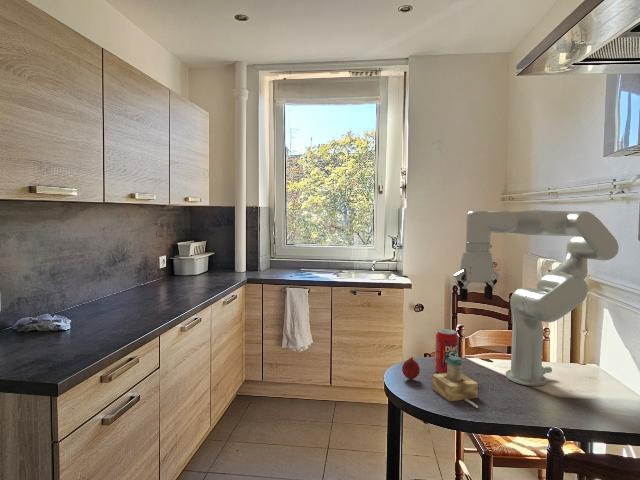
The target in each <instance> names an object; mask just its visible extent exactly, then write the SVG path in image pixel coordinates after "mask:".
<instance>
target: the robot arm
mask: <svg viewBox="0 0 640 480" xmlns="http://www.w3.org/2000/svg"><path fill="white" fill-rule="evenodd" d="M465 227H466V230H465V231H466V232H465V251H463V252H462V256H461V260H460V268H459V271H458V272H456V273H455V274H453V276H452V277H453V279H454V283H455V284H456V285H457V287H458V289H459V300H461V301H463V302H467V301H468V297H469V296H468V293H469V290H468V288H467V287H469V285H470V284H482V283H483V284H484V285H485V286H484V292H483V293H484V294H483V298H484V299H486V300H489V301H491V300H493V291H494V290H493V288H495V286H496V284H497V283H498V279H499V278H500V273H498V272H497V271H495V270H494V268H493V267H494V265H493V257H492V256H493V255H492V252H491V249H493V245H492V244H491V233H492V234H509V233H510V234H520V235H525V236H526V235H527V236H557V237H561V236H564V237H570V239H568V242H567V243H566V253H565V259H564V260H563V262H562V263H561V264H559V265H558V266H556V267H555V268H553V269H552V270H550V271H549V272H547V273H546V274H545V275H543V276H542V277H540V278H539V280H538V282H537V284H536V288H531V287H519V288H518V289H516V290H515V291H513V293H512V295H511V296H510V302H509V303H510V304H509V305H510V311H511V316H512V317H511V318H512V320H511V321H512V329H511V330H512V331H511V333H512V334H511V352H510V353H511V356H510V357H511V358H510V369H508V370H507V371H505V377H506V379H508V380H509V381H511V382H513V383H515V384H520V385H524V386H533V387H538V386H539V387H540V386H544V385H546V384H547V378H546V377H545V376H544V375H545V374H550V373H552V372H553V369H552V367H551V366H545V367H544V366H543V342H544V341H543V340H544V326H543V325H544V324H543V322H544V323H553V322H556V321H558V320H560V319H561V318H563V317H564V316H566V315H567V314H569V313H570V312H571V311H573V310H574V309H575V308H577V307H579V306H580V305H581V304H582V303H583V302H584V301H585V300H586V298H587V296H588V293H589V286H588V283H587V282H586V280H585V279H586V278H587V276H588V260H594V261H595V260H597V261H610V260H612V259H614V258H615V257H616V256H617V255H618V253H619V248H620V247H619V243H618V240H617V239H616V237H615V236H614V235H613V234H612V232H610V230H609V229H608V228H607V227H606V226H605V224H604V223H603V222H602V221H601V220H600V219H599V218H598V217H597V216H596V215H595V214H594V213H593V212H590V211H586V210H583V211H582V210H580V211H579V210H576V211H574V210H573V211H572V210H571V211H570V210H569V211H567V210H541V209H539V210H538V209H534V210H522V211H521V210H520V211H510V210H509V211H508V210H470V211H468V212H467V214H466V225H465Z"/></svg>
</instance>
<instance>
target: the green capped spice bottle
mask: <svg viewBox="0 0 640 480" xmlns="http://www.w3.org/2000/svg"><path fill="white" fill-rule="evenodd" d="M461 374H462V358H460V357H459V356H458V357H456V356H454V357H448V362H447V380H449V381H450V382H452V383H454V382H461Z"/></svg>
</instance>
